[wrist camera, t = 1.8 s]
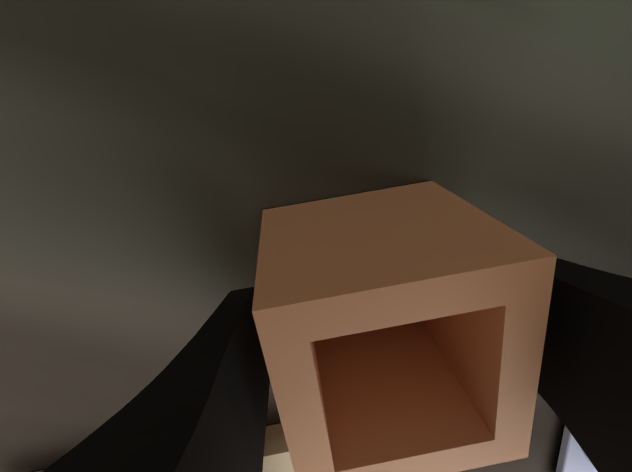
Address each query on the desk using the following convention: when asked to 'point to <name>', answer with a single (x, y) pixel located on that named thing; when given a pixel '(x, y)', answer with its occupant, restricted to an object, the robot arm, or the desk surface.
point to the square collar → (401, 331)
